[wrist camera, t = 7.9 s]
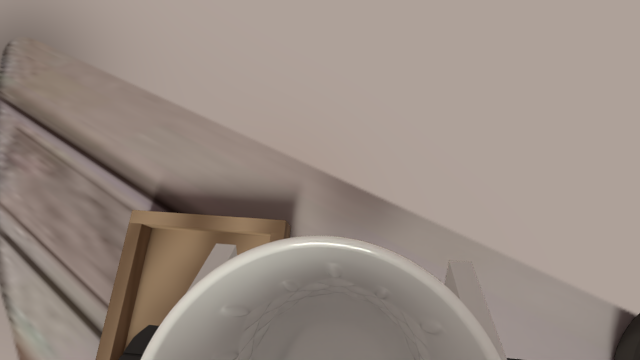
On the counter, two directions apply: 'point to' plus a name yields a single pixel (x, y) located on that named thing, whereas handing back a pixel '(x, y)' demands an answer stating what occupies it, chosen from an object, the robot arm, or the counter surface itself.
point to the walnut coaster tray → (169, 266)
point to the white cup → (320, 308)
